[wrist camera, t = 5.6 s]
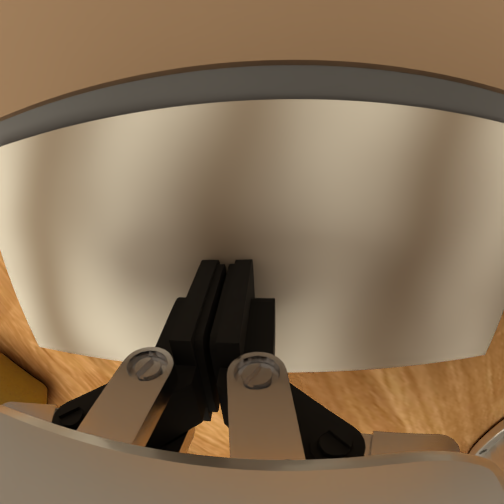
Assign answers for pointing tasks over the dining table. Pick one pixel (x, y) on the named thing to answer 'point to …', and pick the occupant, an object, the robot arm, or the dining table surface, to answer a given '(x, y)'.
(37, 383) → the flower pot
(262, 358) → the robot arm
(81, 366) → the dining table surface
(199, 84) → the floor section
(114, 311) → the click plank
